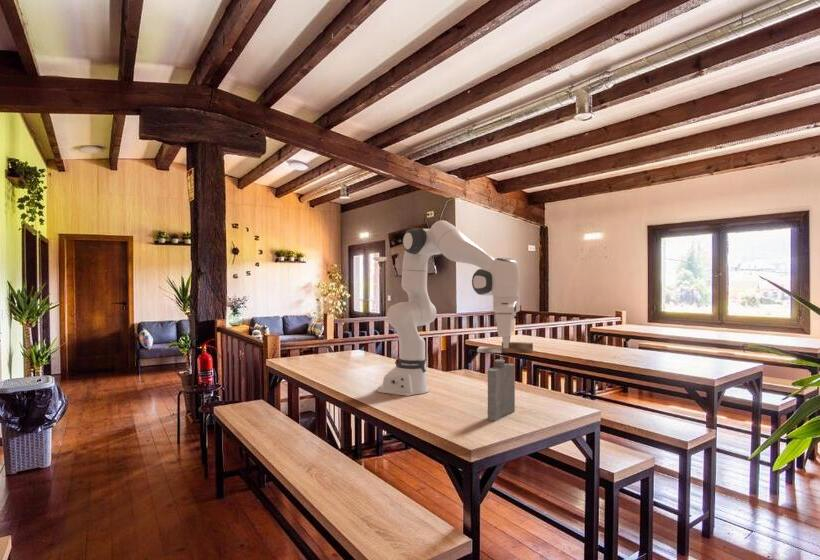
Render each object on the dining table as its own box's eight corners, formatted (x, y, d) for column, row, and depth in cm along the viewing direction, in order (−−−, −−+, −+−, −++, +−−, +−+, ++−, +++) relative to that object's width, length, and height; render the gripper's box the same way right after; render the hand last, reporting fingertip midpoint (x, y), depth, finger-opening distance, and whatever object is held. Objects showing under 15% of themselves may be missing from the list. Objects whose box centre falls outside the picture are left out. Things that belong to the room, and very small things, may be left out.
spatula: (533, 351, 155) (532, 341, 155) (532, 354, 149) (532, 344, 149) (479, 349, 160) (479, 340, 160) (477, 352, 155) (477, 342, 155)
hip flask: (493, 421, 159) (493, 364, 158) (483, 419, 161) (483, 362, 161) (516, 411, 170) (516, 357, 170) (506, 409, 173) (506, 356, 173)
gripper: (500, 304, 165) (500, 342, 166) (493, 308, 146) (493, 351, 146) (517, 304, 164) (518, 342, 164) (513, 308, 144) (513, 352, 144)
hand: (506, 347), depth 155 cm, fingers closed on spatula, 2 cm apart
